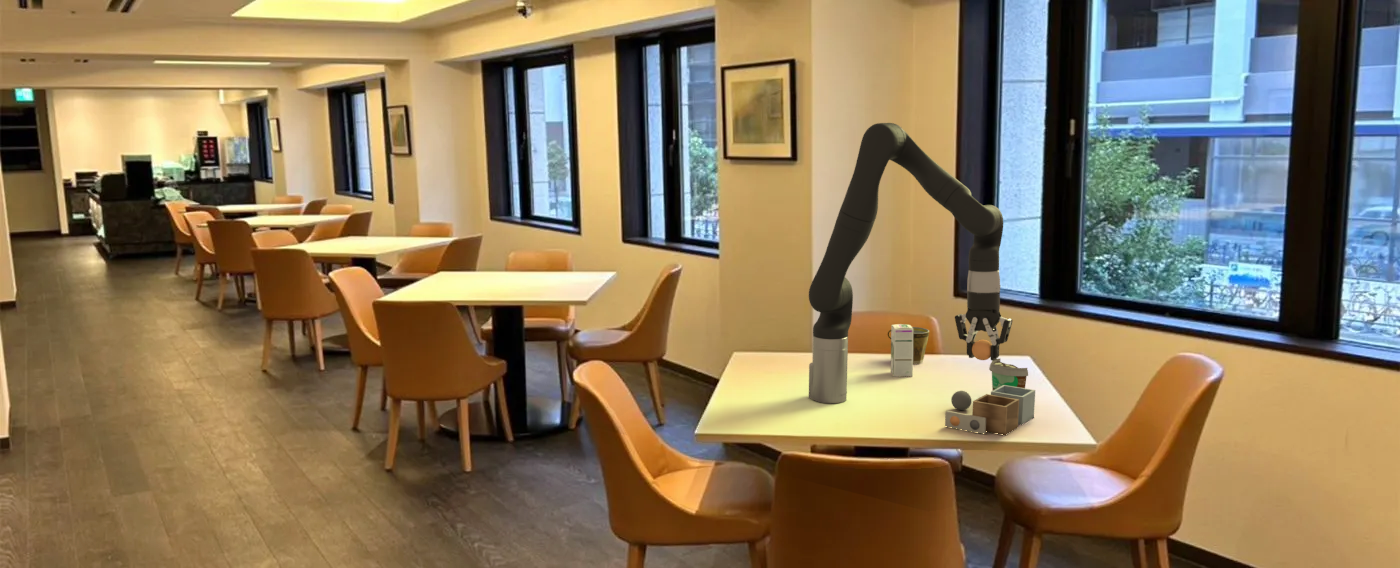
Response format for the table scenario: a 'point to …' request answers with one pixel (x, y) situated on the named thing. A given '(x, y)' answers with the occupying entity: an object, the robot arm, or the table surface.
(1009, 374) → the food container
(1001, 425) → the brown bin
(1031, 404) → the slate bin
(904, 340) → the syrup box
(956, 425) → the card
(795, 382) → the table surface
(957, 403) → the charcoal ball
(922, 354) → the ceramic cup
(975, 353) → the orange ball
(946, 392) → the table surface
